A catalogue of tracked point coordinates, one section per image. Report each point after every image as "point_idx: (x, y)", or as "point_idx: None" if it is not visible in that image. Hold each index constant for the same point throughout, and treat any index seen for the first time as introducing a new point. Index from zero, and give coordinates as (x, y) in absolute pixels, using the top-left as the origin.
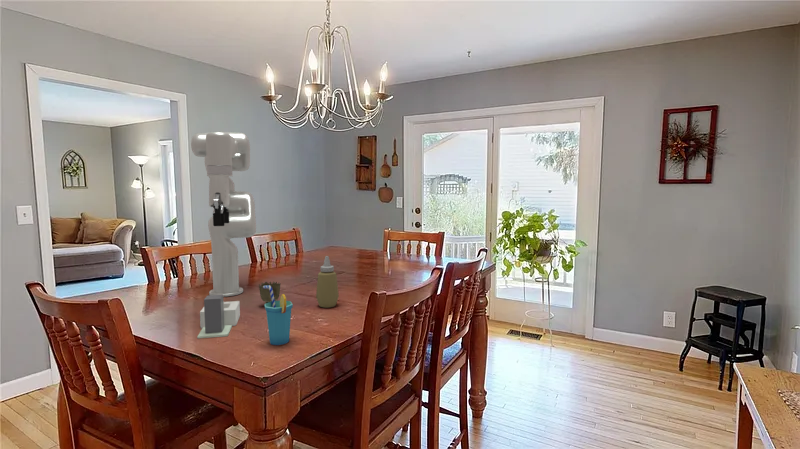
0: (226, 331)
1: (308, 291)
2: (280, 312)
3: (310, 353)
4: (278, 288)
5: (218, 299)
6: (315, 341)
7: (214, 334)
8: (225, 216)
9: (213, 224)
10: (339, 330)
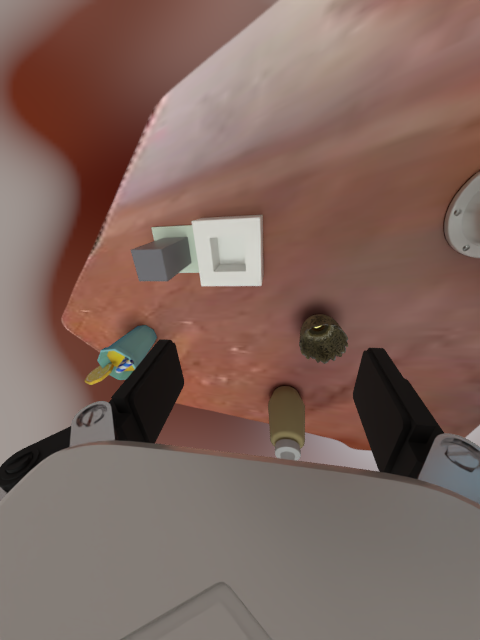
0: None
1: None
2: (107, 362)
3: None
4: (308, 354)
5: (138, 276)
6: None
7: None
8: (370, 422)
9: (156, 343)
10: (181, 390)
